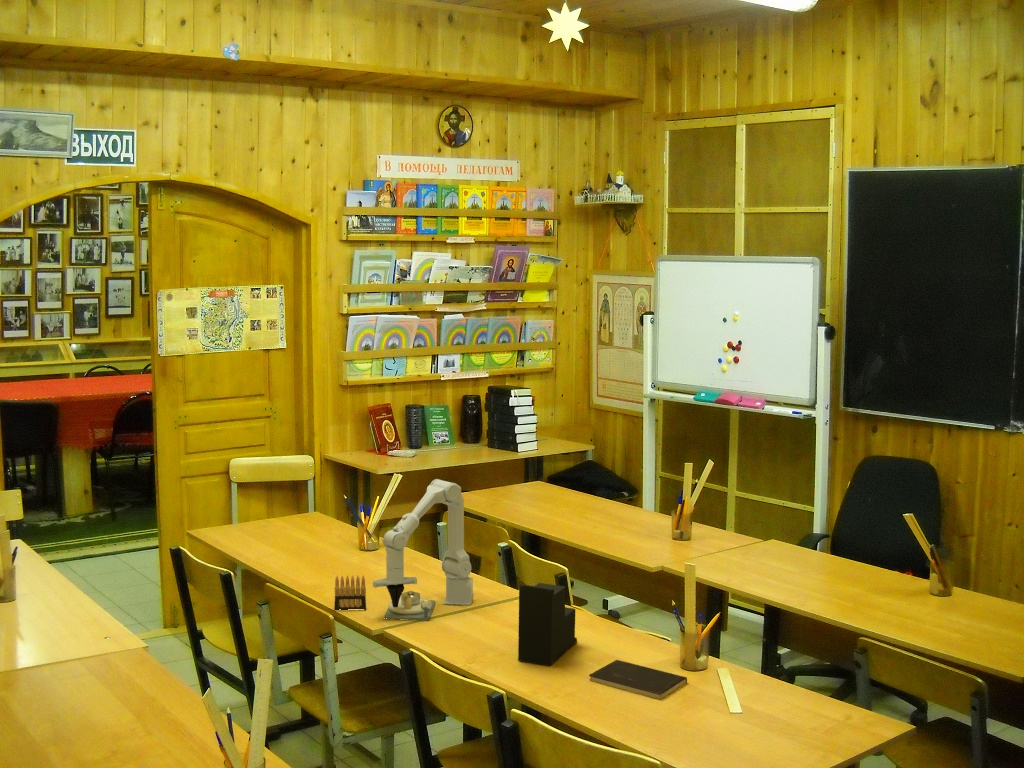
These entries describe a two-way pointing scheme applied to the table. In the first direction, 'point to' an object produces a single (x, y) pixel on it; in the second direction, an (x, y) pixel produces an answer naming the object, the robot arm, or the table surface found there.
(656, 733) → the table surface
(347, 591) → the ammunition clip
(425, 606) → the dial gauge
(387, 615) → the base plate
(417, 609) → the turntable
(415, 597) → the cover
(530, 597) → the bookend
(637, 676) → the hardcover book
